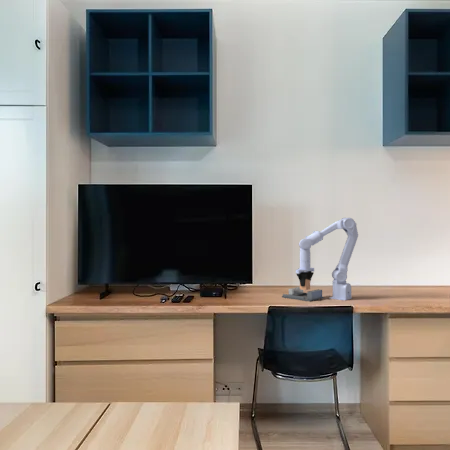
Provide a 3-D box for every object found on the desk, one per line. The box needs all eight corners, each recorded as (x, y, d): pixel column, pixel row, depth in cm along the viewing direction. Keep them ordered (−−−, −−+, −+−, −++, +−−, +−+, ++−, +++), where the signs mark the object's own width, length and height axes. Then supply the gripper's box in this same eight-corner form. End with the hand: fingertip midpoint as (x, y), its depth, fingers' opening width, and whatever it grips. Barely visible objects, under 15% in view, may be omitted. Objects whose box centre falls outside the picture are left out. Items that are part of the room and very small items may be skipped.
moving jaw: (303, 294, 243) (303, 287, 243) (293, 296, 236) (292, 289, 236) (299, 293, 245) (299, 286, 245) (288, 296, 238) (288, 288, 238)
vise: (323, 298, 236) (323, 289, 236) (310, 301, 227) (309, 292, 227) (295, 294, 249) (295, 286, 249) (281, 297, 240) (281, 288, 240)
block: (310, 289, 237) (310, 280, 237) (305, 290, 234) (305, 280, 234) (304, 288, 239) (304, 279, 239) (299, 289, 237) (299, 280, 237)
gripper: (306, 259, 244) (306, 283, 244) (291, 261, 234) (291, 286, 234) (317, 260, 239) (317, 284, 239) (301, 262, 229) (301, 287, 229)
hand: (305, 285), depth 237 cm, fingers closed on block, 4 cm apart
